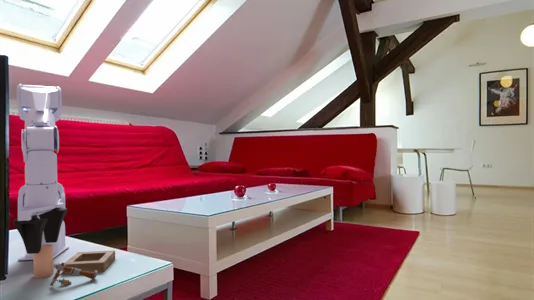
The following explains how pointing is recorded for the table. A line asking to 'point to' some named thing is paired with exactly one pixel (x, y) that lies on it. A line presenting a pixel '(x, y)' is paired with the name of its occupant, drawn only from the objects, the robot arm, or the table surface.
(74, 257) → the walnut socket collar
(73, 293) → the table surface
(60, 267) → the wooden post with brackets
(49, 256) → the terracotta peg
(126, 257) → the table surface
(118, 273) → the table surface
